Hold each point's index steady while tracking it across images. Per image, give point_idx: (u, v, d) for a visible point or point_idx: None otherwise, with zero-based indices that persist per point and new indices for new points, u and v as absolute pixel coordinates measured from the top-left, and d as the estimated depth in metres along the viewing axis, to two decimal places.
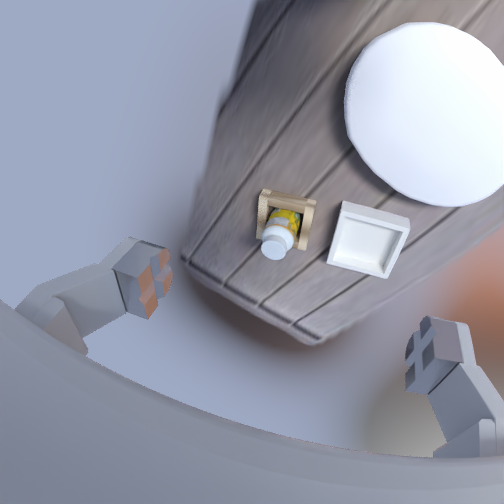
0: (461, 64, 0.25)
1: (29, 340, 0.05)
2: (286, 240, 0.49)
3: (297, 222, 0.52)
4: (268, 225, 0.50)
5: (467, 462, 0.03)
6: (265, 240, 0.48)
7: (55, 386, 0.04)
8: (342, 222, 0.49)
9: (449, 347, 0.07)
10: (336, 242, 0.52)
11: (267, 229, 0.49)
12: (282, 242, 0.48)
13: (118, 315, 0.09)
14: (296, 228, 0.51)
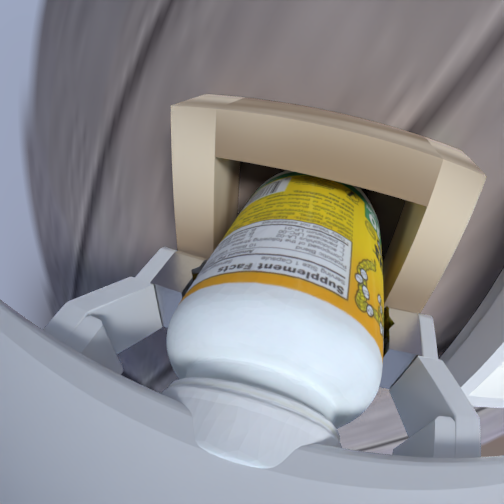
0: None
1: (29, 340, 0.05)
2: (340, 402, 0.05)
3: (381, 257, 0.09)
4: (205, 278, 0.07)
5: (467, 462, 0.03)
6: None
7: (55, 386, 0.04)
8: None
9: (407, 338, 0.07)
10: None
11: (190, 312, 0.06)
12: None
13: (154, 330, 0.09)
14: (382, 293, 0.08)
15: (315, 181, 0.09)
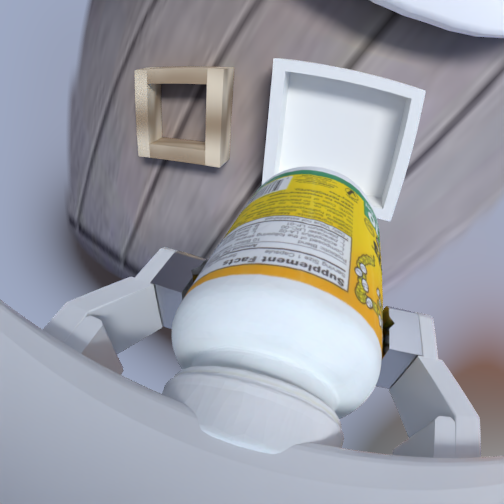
0: None
1: (29, 340, 0.05)
2: (341, 391, 0.06)
3: (379, 253, 0.09)
4: (210, 270, 0.07)
5: (467, 462, 0.03)
6: None
7: (55, 386, 0.04)
8: (279, 85, 0.22)
9: (407, 338, 0.07)
10: (274, 134, 0.24)
11: (196, 304, 0.06)
12: (320, 431, 0.04)
13: (154, 330, 0.09)
14: None
15: (316, 180, 0.10)
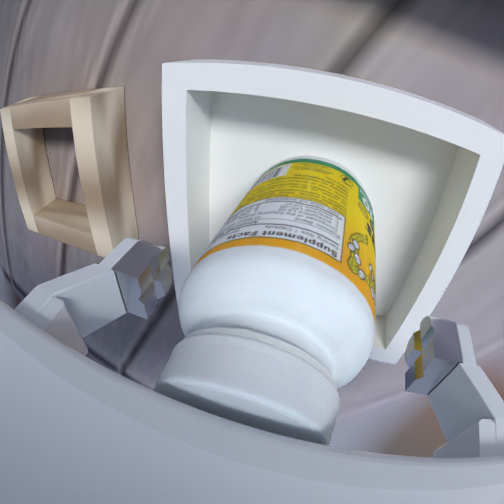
0: None
1: (29, 340, 0.05)
2: (336, 356, 0.06)
3: (373, 236, 0.10)
4: (215, 245, 0.07)
5: (467, 462, 0.03)
6: (174, 363, 0.06)
7: (55, 386, 0.04)
8: (178, 123, 0.10)
9: (449, 347, 0.07)
10: (182, 223, 0.13)
11: (202, 273, 0.07)
12: (315, 387, 0.05)
13: (118, 315, 0.09)
14: (375, 266, 0.09)
15: (313, 167, 0.10)
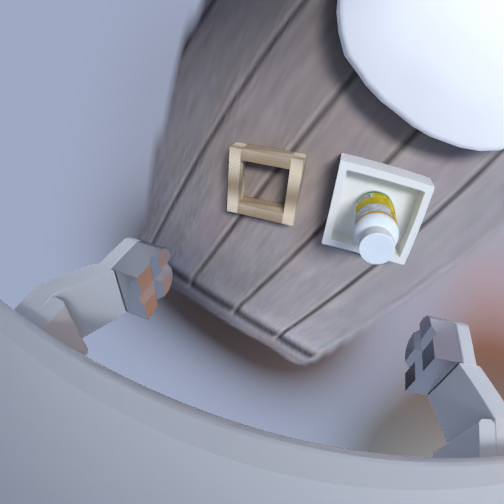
0: None
1: (29, 340, 0.05)
2: (392, 235, 0.31)
3: None
4: (365, 213, 0.32)
5: (467, 462, 0.03)
6: (367, 233, 0.30)
7: (55, 386, 0.04)
8: (342, 179, 0.35)
9: (449, 347, 0.07)
10: (335, 209, 0.37)
11: (366, 218, 0.31)
12: (391, 236, 0.30)
13: (118, 315, 0.09)
14: None
15: (379, 194, 0.35)
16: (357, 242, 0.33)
